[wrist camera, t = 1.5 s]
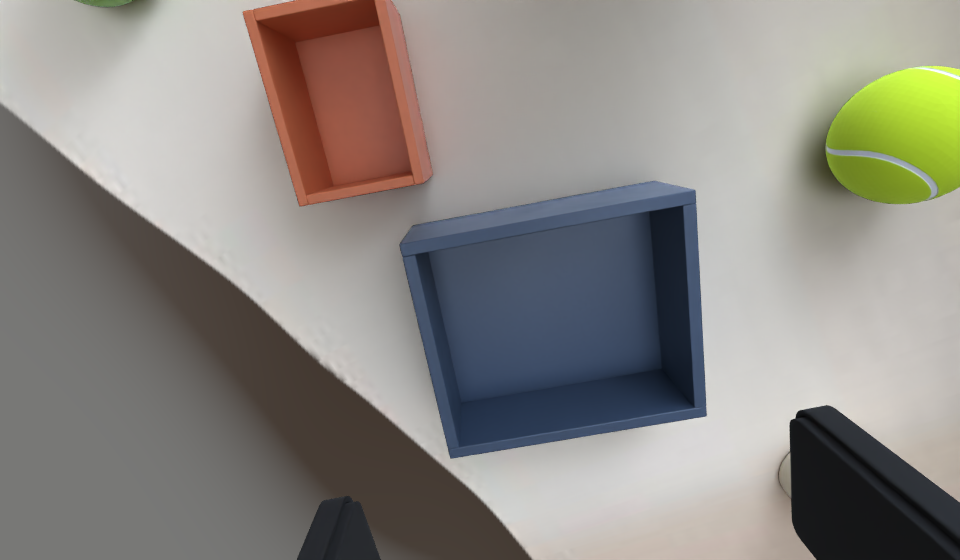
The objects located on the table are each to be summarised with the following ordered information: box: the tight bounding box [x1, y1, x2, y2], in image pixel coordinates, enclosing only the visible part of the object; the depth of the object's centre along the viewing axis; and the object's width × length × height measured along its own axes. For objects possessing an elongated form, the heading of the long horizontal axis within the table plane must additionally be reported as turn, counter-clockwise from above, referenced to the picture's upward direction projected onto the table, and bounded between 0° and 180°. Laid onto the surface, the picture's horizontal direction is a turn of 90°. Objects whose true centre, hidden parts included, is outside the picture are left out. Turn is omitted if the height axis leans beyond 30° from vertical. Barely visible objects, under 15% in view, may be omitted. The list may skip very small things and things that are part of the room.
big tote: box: [400, 181, 707, 459], centre depth 29 cm, size 13×15×6 cm
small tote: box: [243, 0, 433, 206], centre depth 25 cm, size 9×6×6 cm
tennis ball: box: [826, 66, 960, 204], centre depth 25 cm, size 7×7×7 cm
